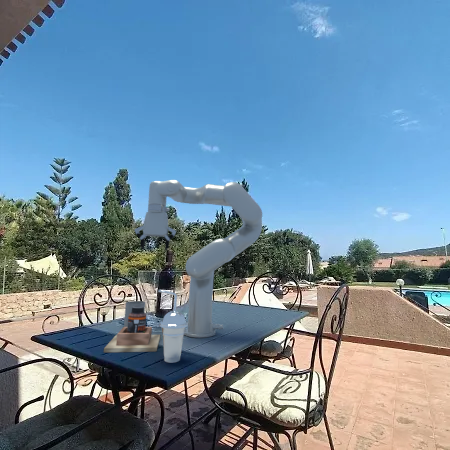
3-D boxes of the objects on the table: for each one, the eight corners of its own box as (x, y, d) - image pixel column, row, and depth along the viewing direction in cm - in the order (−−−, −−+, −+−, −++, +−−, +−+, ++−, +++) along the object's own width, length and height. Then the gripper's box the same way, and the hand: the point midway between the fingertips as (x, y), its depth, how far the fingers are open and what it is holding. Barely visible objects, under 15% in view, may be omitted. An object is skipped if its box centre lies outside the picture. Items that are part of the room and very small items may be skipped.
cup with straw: (176, 367, 76) (179, 292, 78) (149, 361, 79) (153, 290, 82) (192, 357, 83) (194, 289, 86) (167, 353, 87) (170, 288, 90)
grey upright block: (132, 328, 117) (134, 304, 118) (119, 325, 121) (121, 302, 123) (147, 325, 124) (149, 302, 125) (135, 322, 128) (136, 300, 130)
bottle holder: (160, 337, 104) (161, 324, 105) (156, 351, 88) (157, 336, 89) (115, 338, 102) (116, 325, 102) (103, 352, 86) (104, 336, 87)
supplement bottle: (138, 343, 92) (141, 308, 93) (122, 342, 93) (125, 307, 94) (147, 339, 97) (149, 306, 99) (132, 337, 99) (134, 305, 100)
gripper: (177, 212, 125) (175, 250, 122) (137, 210, 122) (134, 249, 120) (177, 209, 117) (175, 250, 115) (134, 207, 115) (131, 248, 113)
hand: (154, 249), depth 118 cm, fingers open, 9 cm apart
